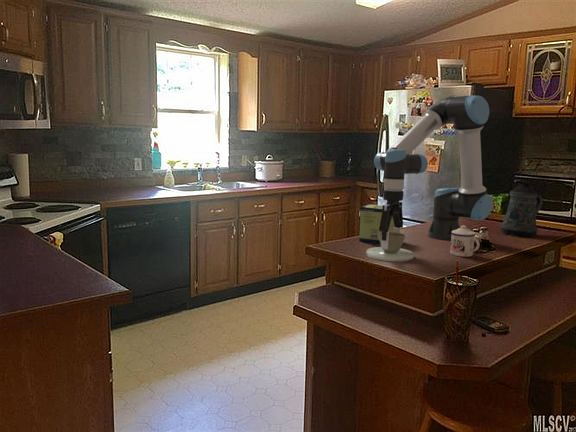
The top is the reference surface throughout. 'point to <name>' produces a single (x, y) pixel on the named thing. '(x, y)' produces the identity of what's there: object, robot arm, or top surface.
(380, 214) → the protein box
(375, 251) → the dish
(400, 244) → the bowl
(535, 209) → the beer stein
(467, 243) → the teacup with lid
